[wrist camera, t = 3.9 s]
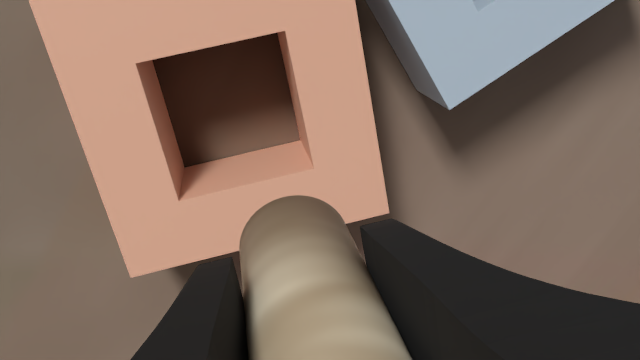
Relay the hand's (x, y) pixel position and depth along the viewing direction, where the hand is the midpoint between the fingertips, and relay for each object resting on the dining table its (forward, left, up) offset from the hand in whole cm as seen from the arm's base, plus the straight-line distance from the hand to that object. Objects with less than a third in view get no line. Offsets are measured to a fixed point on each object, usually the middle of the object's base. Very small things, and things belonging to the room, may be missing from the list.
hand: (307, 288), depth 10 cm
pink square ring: (+1, -2, -9) cm, 10 cm away
